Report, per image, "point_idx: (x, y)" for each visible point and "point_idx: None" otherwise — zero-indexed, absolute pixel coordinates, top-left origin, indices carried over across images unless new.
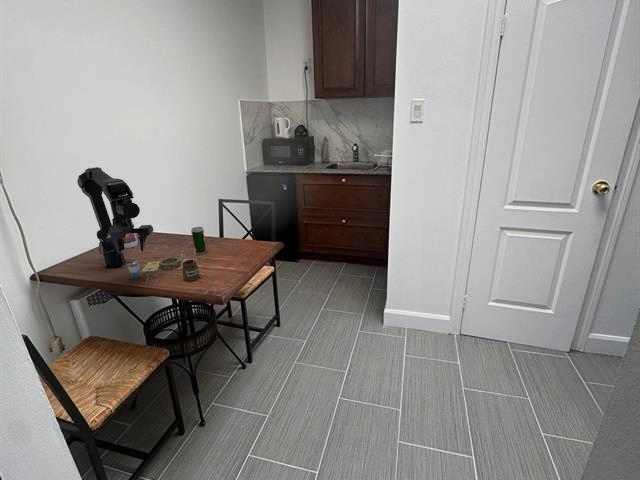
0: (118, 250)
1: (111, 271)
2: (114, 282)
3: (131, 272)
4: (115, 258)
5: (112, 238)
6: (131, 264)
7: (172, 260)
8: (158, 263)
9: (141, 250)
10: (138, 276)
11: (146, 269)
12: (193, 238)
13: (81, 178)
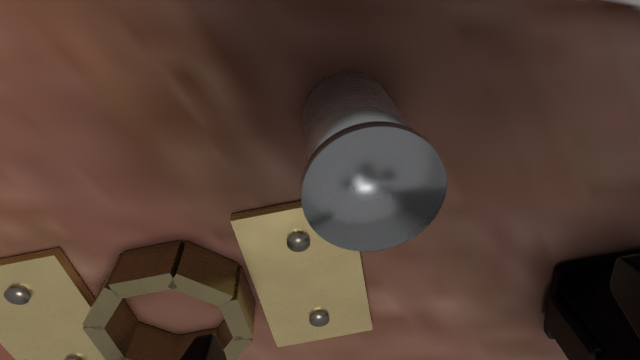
0: (637, 316)
1: (599, 204)
2: (504, 5)
3: (363, 97)
4: (622, 321)
5: None
6: (359, 142)
7: None
8: (286, 316)
9: (201, 350)
10: (309, 101)
11: None
12: None
13: None
